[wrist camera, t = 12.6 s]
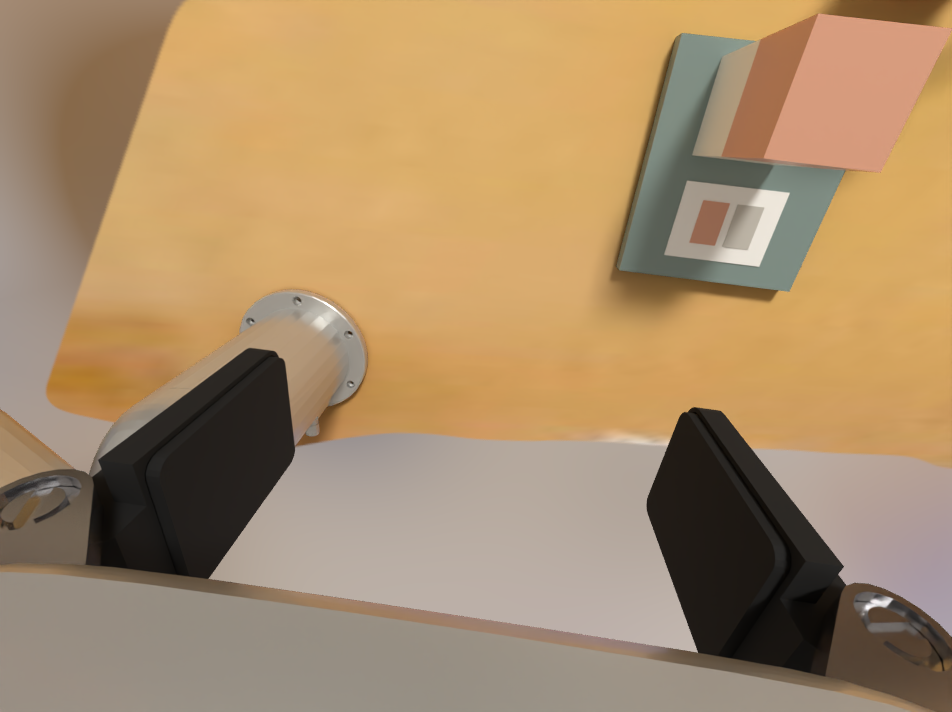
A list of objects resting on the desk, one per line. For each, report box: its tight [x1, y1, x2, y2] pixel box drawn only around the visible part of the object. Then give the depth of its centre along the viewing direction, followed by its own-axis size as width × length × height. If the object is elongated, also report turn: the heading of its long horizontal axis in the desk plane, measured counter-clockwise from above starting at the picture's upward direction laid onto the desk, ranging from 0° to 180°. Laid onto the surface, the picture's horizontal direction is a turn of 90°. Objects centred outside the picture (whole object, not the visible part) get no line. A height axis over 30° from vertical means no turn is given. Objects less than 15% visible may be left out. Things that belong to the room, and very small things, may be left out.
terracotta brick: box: [721, 14, 952, 172], centre depth 23 cm, size 6×6×5 cm
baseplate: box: [616, 33, 845, 292], centre depth 29 cm, size 16×14×7 cm
